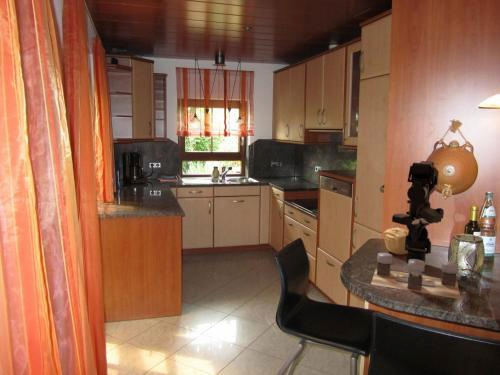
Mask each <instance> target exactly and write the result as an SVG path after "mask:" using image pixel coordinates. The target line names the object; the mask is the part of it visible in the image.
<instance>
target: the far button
mask: <svg viewBox="0 0 500 375" xmlns="http://www.w3.org/2000/svg"><path fill="white" fill-rule="evenodd" d="M425 267H426V261H425V262H424V261H421V260H417V259H410V260H409V262H408V263H407V269H408V270H409V271H411V273H412V276H411V277H416V278H419V275H420V274H421V273H422V272H425Z"/></svg>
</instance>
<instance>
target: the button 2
mask: <svg viewBox="0 0 500 375" xmlns="http://www.w3.org/2000/svg"><path fill="white" fill-rule="evenodd" d="M440 270H441V272H442V271H443V272H445V273H447V274H456V275H458V272H459V269H458V264H456V263H453V262H452V261H442V262H441V269H440Z"/></svg>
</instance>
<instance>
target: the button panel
mask: <svg viewBox="0 0 500 375" xmlns="http://www.w3.org/2000/svg"><path fill="white" fill-rule="evenodd" d="M391 268H392V263H391V264H388V265H386V264H381V263H379V262H377V267H376V268H375V270H374V274H373V277H372V279H371V283H370V285H373V286H378V287H379V286H380V287H384V288H385V287H386V288H391V289H398V290H403V291H410V292H416V293H422V294H427V295H434V296H440V297H444V298H445V297H446V298H452V299H457V300H461V298H462V297H461V294H460V290H459V285H458V280H457V275H458V274H447V273H445V272H443V271H441V275H440V276H441V278H439V277H434V276H429V275H428V276H427V275H423V274H421V273H420V275H419V278H416V277H411V276H412V272H408V273H407V272H401V271H395V270H391ZM397 274H398V275H405V276H408V283H404V282H398V281H396V276H397ZM422 278H424V279H430V280H434V287H429V286H423V285H422Z"/></svg>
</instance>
